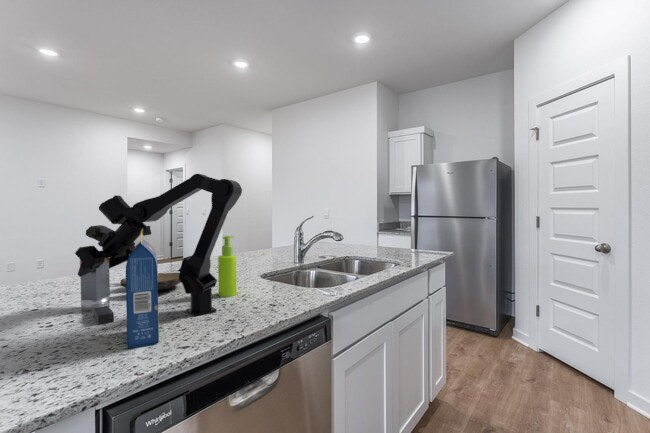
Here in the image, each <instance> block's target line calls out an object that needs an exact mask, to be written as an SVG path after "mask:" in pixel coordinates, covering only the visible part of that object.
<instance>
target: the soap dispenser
mask: <svg viewBox="0 0 650 433" xmlns="http://www.w3.org/2000/svg"><path fill="white" fill-rule="evenodd" d="M234 238H235V236H233V235H224V236H222V240H223V241H224V244H223V245H222V246H221V255H219V256H218V258H217V260H218V261H217V262H218V264H217V266H218V267H217V268H218V270H217V271H218V297H221V298H230V297H235V296H236V295H237V287H238V286H237V281H238V280H237V255H234V254H233V246H232V245H231V243H230V242H231V239H234Z"/></svg>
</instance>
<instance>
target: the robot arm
mask: <svg viewBox="0 0 650 433" xmlns="http://www.w3.org/2000/svg"><path fill="white" fill-rule="evenodd" d="M201 190H203V191H205V192H208V193H211V200H210V201H211V209H210V212H209V213H208V216H207V219H206V221H205V223H204V227H203V229H202V231H201V234H200V237H199V240H198V241H197V244H196V247H195V250H194V252H193V254H192V255H190V256H186V257H183V259H182V260H181V265H180V268H179V269H178V270H177V273H179V279H180V281H181V283H180V284H182V286H183V289H184V291H185V294H187V295H188V294H190V307H189V308H186V312H188V313H189V314H190V315H192V316H193V317H194V316H195V317H196V316H201V315H206V314H209V313H213V312H217V308H216V307H214V306H213V297H212V296H213V295H212V294H213V293H212V292H213V290H212V288H215V287H216V285H217V283H218V282H217V280H218V279H217V278H216V277H214V275H213V274H211V272H210V270H211V257H212V254H213V251H214V248H215V246H216V243H217V241H218V238H219V237H220V236H219V235H220V234H221V231H222V228H223V226H224V224H225V221H226V219H227V217H228V216H227V215H228V214H229V212H230V211H231V210H232V208H233V207H234V206H235V205H236V204H237V202H238V200H239V199H240V197H241V196H242V192H243V189H242V186H241V184H240V183H239V182H238V181H236V180H232V179H226V178H221V179H217V178H213V177H210V176H208V175H206V174H202V173H201V174H200V173H194V174H192V176H191V177H189V178H188V179H186V180H184V181H182V182H181V183H179V184H177V185H176V186H173V187H171V188H170V189H168V190H167V191H165V192H163V193H161V194H160V195H158V196H155V197H150V198H147V199H144V200H141V201H139V202H135V203H134V204H133V205H132V206H130V205H129V204H128V203H127V202H126V201H125V199H124V198H123V197H122V196H121V195H114V196H113V197H111V198H109V199H107V200H105V201H103V202H102V203H101V204H99V206H98V210H99V211H100V212H101V214H102V215H103V216H104V217H105V218H106V219H107V220H108V221H109V222H110V223H111V224H112V225H119V227H117V229H116V230H113V229H111V228H110V227H107V226H105V225H100V224H99V225H91V226H88V228H86V230H85V236H87V237H88V238H89V239H93V240H95V241H97V242H98V243H97V245H98V246H99V247H101V250H99V249H97V247H96V246H95V245H86V246H85V245H84V246H79V248H77V250H75V252H74V254H75V256H77V258H78V259H79V261H80V260H81V265H80V264H79V268H78V272H77V276H78V277H79V278H80V277H82V276H84V275H86V274H87V273H89V272H91V271H93V270H95V269H97V268H99V267H100V265H102V264H103V263H104V262H105V259H106V258H109V270H110V269H111V268H114V267H116V266H118V265H121V264H124V263H127V260H128V258H129V255H130V253H131V251H132V250H133V249H134V248H135V246H136V243H135V241H136V240H137V239H138V238H139V237H141V230H142V228H143V237H145V236H149V235H150V236H151V235H152V230H151V225H146V224H145V223H151V222H157V221H159V220H160V219H161V218H162V217H164V216H165V215H166V214H167V212H168V211H169V210H170V209H171V208H172V207H174V206H175V205H177V204H179V203H181V202H182V201H184V200H186V199H188V198H189V197H191V196H193V195H195V194H196V193H198V192H200V191H201Z"/></svg>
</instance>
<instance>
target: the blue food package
mask: <svg viewBox="0 0 650 433" xmlns="http://www.w3.org/2000/svg"><path fill="white" fill-rule="evenodd" d="M134 246H135V248H134V249H133V250H132V251H131V253H130V255H129V258H128V260H127V261H126V265H125V278H126V288H125V291H126V292H125V296H126V298H125V299H126V301H125V302H126V304H125V305H126V333H127V334H126V339H127V342H126V343H127V346H126V347H127V349H131V348H136V347H137V348H138V347H144V346H150V345H154V344H158V343H159V342H160V327H159V326H160V324H159V323H160V322H159V320H160V319H159V290H158V273H159V267H158V257H157V253H156V250H155V249H154V247H153V246H152V245H151V244H150V243H149V242H148V241H146V239H145V238H144V236H143V228H142V230H141V235H140V241H139V242H138V243H137V244H135V245H134Z"/></svg>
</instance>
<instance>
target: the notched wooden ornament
mask: <svg viewBox="0 0 650 433" xmlns="http://www.w3.org/2000/svg"><path fill="white" fill-rule="evenodd" d="M179 273H180V272H163V273H160V272H158V291H163V290H168V289H171V288H173V287H175V286H177V285H179V284H182V283H181V281H180V279H179ZM119 284H120V286H121V287H122V288H123V287H124V289H126V277H124V278H122V279H121V280H120V282H119Z"/></svg>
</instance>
